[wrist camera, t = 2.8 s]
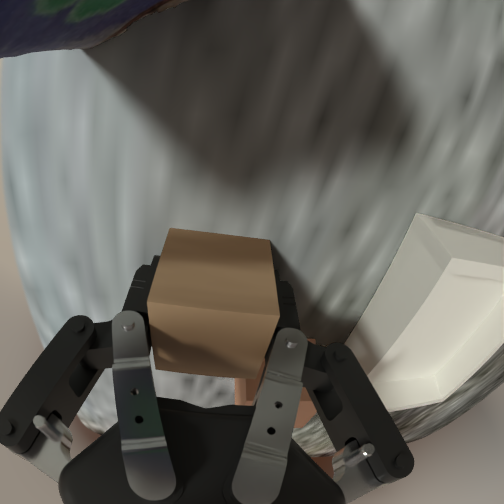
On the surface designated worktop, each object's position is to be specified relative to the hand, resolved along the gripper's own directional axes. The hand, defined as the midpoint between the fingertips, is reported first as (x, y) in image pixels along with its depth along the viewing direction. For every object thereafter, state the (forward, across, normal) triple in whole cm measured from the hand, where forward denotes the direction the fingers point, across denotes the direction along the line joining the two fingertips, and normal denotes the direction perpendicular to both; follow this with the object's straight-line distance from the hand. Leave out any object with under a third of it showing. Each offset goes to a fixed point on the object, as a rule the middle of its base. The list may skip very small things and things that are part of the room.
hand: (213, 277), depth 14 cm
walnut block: (0, 0, 0) cm, 0 cm away
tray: (0, -15, +2) cm, 15 cm away
